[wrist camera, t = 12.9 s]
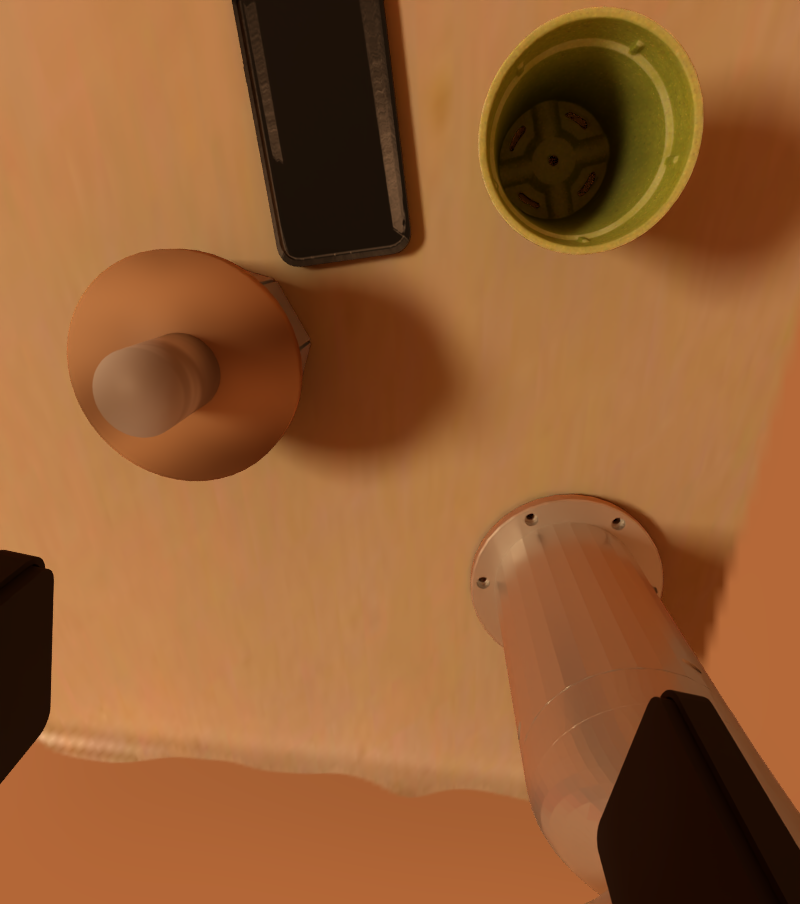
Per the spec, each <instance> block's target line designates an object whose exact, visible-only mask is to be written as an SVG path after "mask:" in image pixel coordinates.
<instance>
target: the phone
mask: <svg viewBox="0 0 800 904" xmlns="http://www.w3.org/2000/svg"><path fill="white" fill-rule="evenodd" d="M232 4H233V10H234V15H235V21H236V26H237V31H238V37H239V42H240V48H241V53H242V59H243V64H244V72H245V77H246V82H247V86H248V92H249V97H250V102H251V108H252V113H253V119H254V124H255V130H256V135H257V141H258V146H259V152H260V157H261V163H262V168H263V174H264V179H265V184H266V190H267V195H268V201H269V206H270V212H271V217H272V223H273V228H274V234H275V239H276V245H277V249H278V252H279V255H280V256H281V258H282V259H283V261H285V262H286V263H287V264H289V265H292V266H296V267H301V266H309V265H316V264H323V263H330V262H338V261H345V260H352V259H359V258H366V257H374V256H381V255H388V254H394V253H398V252H400V251H402V250H403V249H404V248H405V247H406V246H407V244H408V243H409V240H410V237H411V226H410V218H409V210H408V201H407V193H406V185H405V176H404V168H403V159H402V151H401V143H400V134H399V126H398V117H397V109H396V101H395V92H394V84H393V76H392V67H391V59H390V50H389V42H388V34H387V25H386V17H385V8H384V0H232Z"/></svg>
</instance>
